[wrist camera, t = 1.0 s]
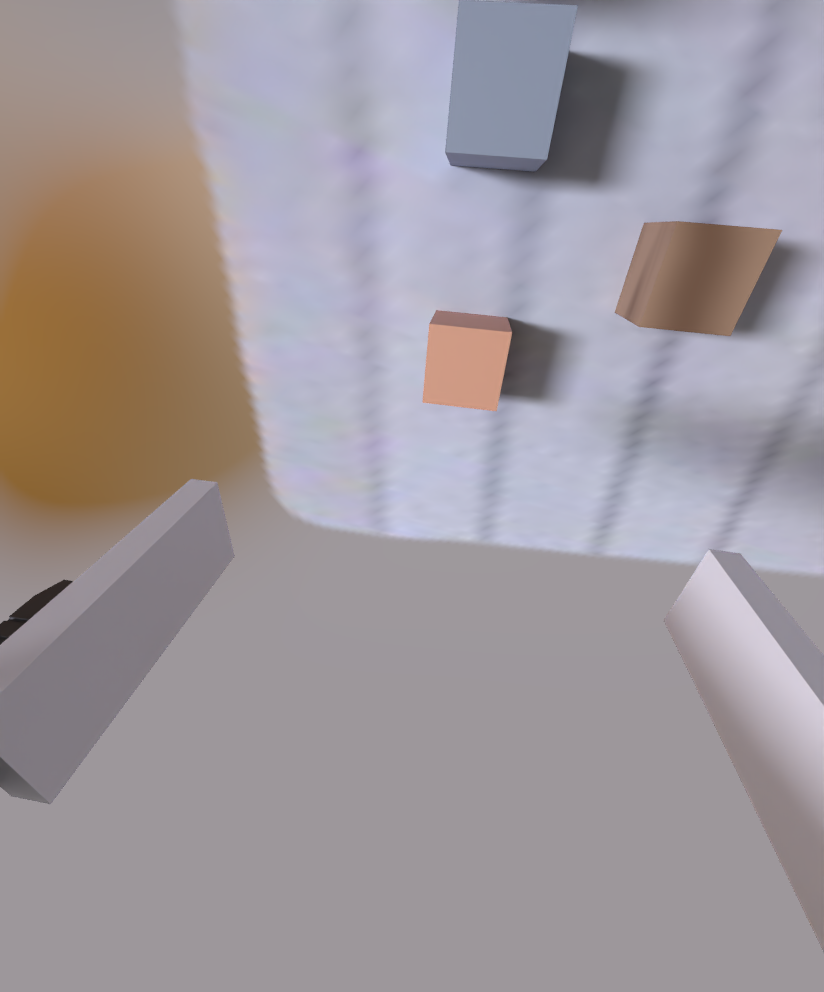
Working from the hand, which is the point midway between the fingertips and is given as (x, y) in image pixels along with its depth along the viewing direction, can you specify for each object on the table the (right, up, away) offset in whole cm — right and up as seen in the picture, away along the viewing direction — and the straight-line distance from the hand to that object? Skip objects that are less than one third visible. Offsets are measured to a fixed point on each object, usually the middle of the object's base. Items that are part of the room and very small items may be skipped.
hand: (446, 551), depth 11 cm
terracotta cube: (+3, +12, +19) cm, 23 cm away
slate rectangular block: (+4, +23, +11) cm, 26 cm away
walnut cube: (+15, +16, +14) cm, 26 cm away
